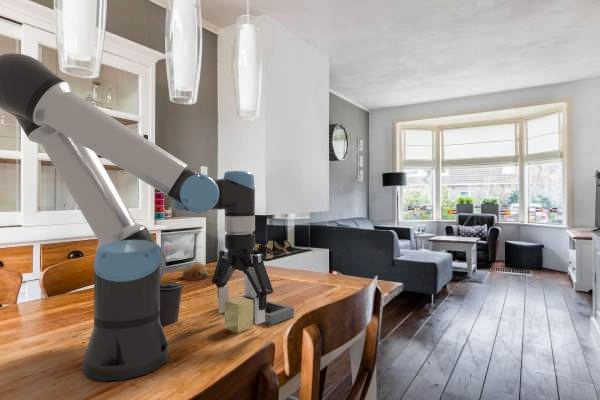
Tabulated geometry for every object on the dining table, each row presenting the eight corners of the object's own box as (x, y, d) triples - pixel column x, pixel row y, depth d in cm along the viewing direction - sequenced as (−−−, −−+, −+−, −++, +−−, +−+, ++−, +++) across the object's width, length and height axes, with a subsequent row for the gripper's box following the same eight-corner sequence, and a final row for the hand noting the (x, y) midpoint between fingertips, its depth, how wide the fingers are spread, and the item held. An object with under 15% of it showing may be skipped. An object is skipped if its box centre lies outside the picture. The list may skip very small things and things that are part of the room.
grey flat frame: (271, 325, 92) (271, 315, 92) (221, 309, 105) (221, 301, 105) (293, 317, 99) (293, 307, 99) (244, 303, 112) (244, 295, 112)
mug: (258, 305, 110) (258, 266, 110) (239, 302, 113) (239, 264, 113) (273, 297, 119) (273, 260, 119) (255, 294, 122) (256, 259, 122)
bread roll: (203, 283, 153) (200, 265, 156) (214, 276, 146) (210, 257, 149) (181, 287, 146) (177, 268, 149) (191, 280, 139) (188, 260, 142)
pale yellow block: (237, 333, 87) (238, 304, 87) (224, 328, 90) (224, 300, 90) (253, 327, 91) (253, 300, 91) (239, 323, 94) (240, 296, 94)
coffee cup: (165, 328, 89) (165, 288, 89) (143, 323, 93) (144, 284, 93) (189, 319, 96) (190, 282, 96) (168, 314, 100) (169, 278, 100)
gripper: (287, 234, 85) (288, 323, 86) (220, 229, 101) (221, 304, 101) (265, 237, 80) (265, 332, 80) (197, 231, 95) (198, 311, 96)
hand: (240, 317), depth 91 cm, fingers open, 13 cm apart
